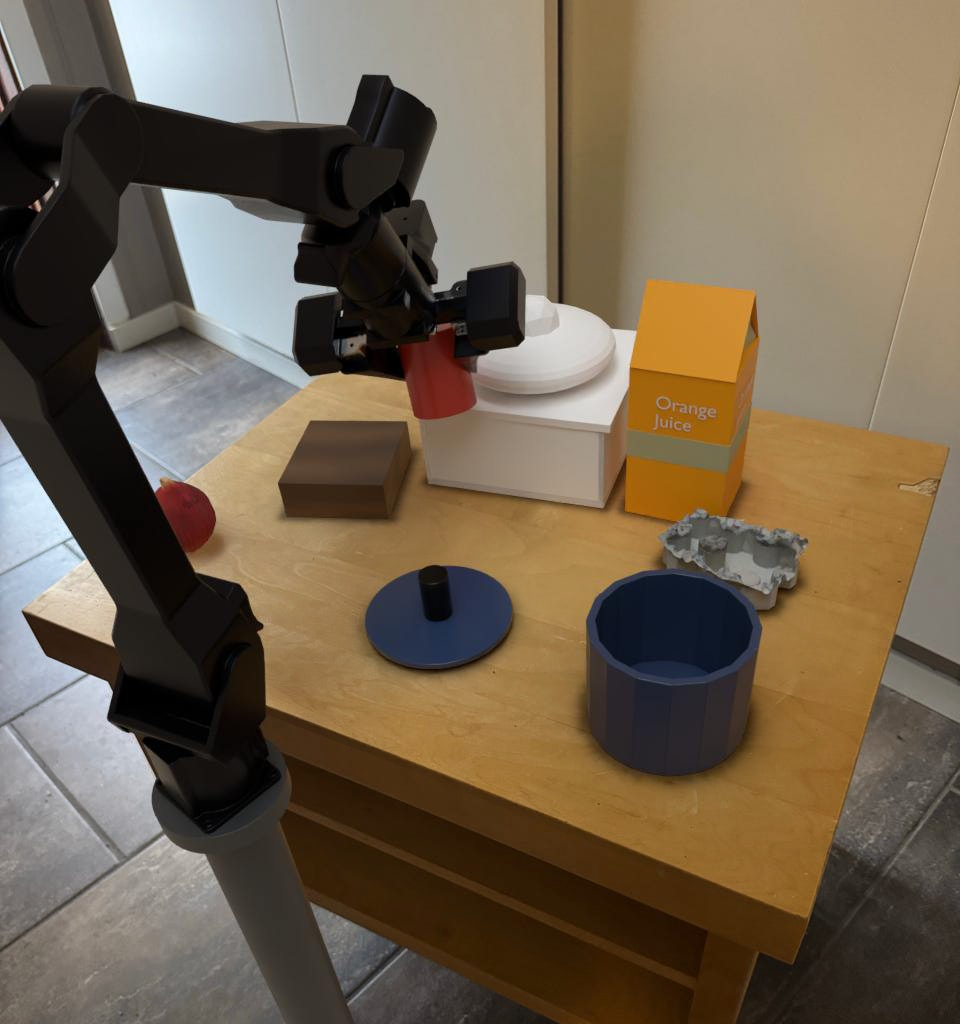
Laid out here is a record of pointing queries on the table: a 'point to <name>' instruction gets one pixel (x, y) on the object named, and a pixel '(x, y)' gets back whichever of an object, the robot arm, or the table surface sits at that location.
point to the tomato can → (436, 377)
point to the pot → (670, 670)
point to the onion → (187, 512)
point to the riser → (346, 469)
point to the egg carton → (735, 554)
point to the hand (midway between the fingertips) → (443, 372)
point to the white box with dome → (541, 413)
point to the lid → (438, 617)
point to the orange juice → (689, 399)
